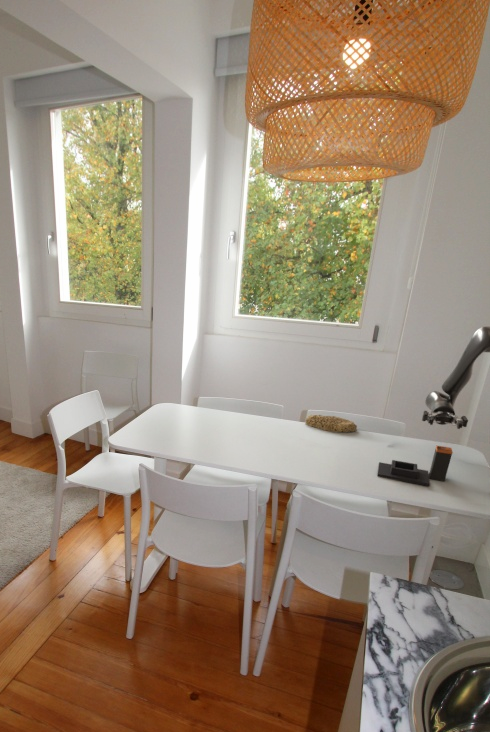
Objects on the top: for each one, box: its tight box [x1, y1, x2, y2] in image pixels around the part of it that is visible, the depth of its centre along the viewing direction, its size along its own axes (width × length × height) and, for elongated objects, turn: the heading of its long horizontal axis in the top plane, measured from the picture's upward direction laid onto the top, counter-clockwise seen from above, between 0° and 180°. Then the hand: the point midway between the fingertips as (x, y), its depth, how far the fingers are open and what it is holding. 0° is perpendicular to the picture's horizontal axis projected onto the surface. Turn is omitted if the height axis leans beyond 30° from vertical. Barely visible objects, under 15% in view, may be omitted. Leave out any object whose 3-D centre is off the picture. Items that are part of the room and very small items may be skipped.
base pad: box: [377, 459, 430, 487], centre depth 166 cm, size 16×12×4 cm
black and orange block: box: [428, 445, 453, 482], centre depth 162 cm, size 5×5×11 cm
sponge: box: [305, 414, 358, 433], centre depth 207 cm, size 13×8×20 cm
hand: (445, 424), depth 168 cm, fingers open, 8 cm apart
